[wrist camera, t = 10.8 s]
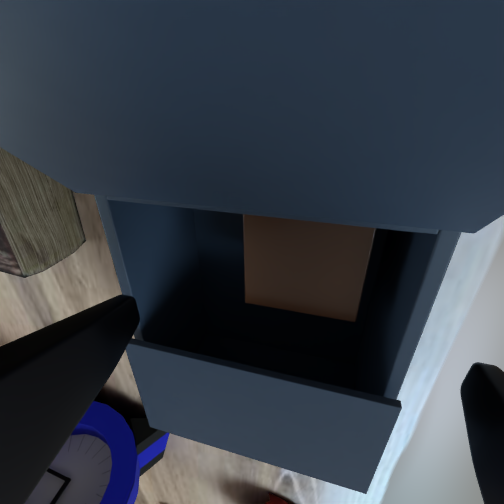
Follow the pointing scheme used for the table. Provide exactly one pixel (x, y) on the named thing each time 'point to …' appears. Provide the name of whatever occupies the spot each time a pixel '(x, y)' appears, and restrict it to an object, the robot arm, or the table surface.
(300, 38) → the box lid
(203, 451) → the table surface
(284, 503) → the pumpkin
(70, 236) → the hardback book
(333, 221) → the carton
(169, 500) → the table surface
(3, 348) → the robot arm
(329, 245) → the block
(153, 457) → the alarm clock
